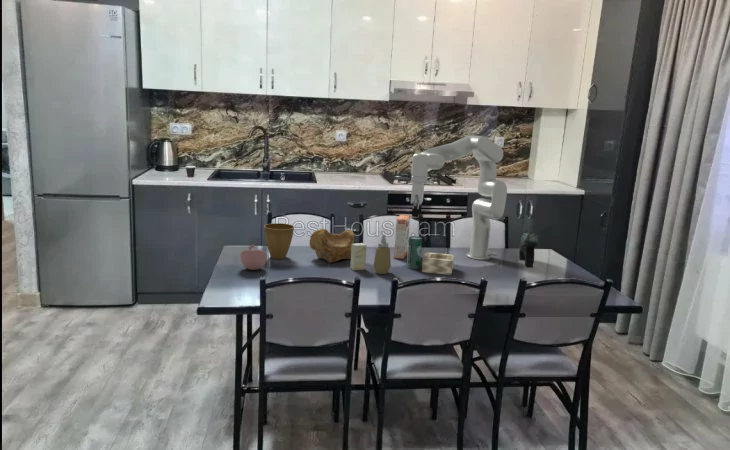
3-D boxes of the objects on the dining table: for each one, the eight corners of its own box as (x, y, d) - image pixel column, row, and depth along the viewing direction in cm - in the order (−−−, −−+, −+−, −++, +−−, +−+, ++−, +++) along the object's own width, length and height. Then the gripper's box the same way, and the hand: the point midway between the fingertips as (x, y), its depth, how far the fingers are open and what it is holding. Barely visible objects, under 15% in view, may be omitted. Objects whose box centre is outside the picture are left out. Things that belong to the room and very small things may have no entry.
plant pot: (270, 262, 265) (270, 230, 261) (259, 254, 277) (259, 224, 274) (298, 259, 272) (299, 228, 269) (286, 252, 285) (287, 222, 281)
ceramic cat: (535, 268, 277) (540, 230, 273) (523, 268, 277) (527, 229, 273) (526, 258, 296) (530, 222, 292) (514, 257, 297) (518, 221, 292)
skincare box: (353, 270, 258) (355, 245, 256) (349, 268, 262) (350, 243, 260) (365, 269, 261) (367, 244, 259) (361, 266, 265) (362, 242, 262)
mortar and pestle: (266, 265, 259) (267, 242, 257) (266, 273, 248) (267, 248, 245) (240, 265, 257) (240, 242, 255) (239, 273, 246) (239, 248, 243)
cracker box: (404, 259, 282) (407, 219, 277) (393, 258, 283) (395, 218, 279) (408, 253, 295) (410, 215, 291) (397, 252, 296) (399, 214, 292)
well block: (452, 268, 270) (454, 254, 269) (451, 274, 259) (452, 261, 258) (424, 265, 273) (425, 252, 272) (421, 271, 262) (422, 258, 260)
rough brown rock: (314, 267, 264) (317, 237, 260) (306, 255, 279) (309, 227, 275) (360, 266, 272) (363, 237, 268) (349, 254, 287) (352, 227, 283)
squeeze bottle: (384, 276, 252) (387, 238, 248) (369, 272, 256) (371, 235, 252) (393, 272, 259) (395, 235, 255) (378, 269, 263) (380, 232, 259)
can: (420, 269, 266) (422, 239, 263) (407, 269, 265) (410, 238, 262) (418, 265, 272) (420, 236, 269) (406, 265, 271) (408, 236, 268)
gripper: (413, 177, 269) (411, 211, 272) (408, 181, 252) (406, 217, 256) (428, 178, 267) (426, 212, 271) (424, 182, 251) (422, 219, 254)
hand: (416, 215), depth 263 cm, fingers open, 9 cm apart
